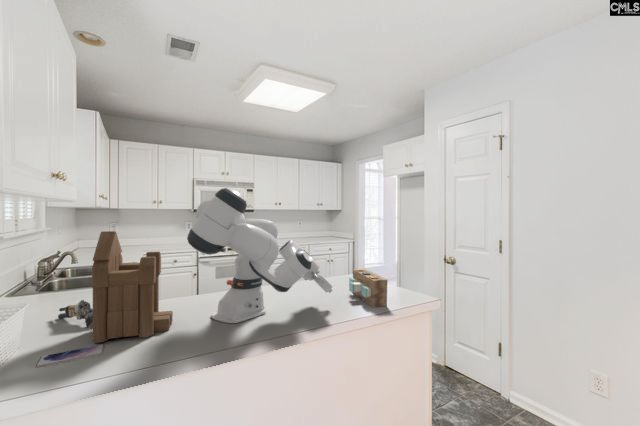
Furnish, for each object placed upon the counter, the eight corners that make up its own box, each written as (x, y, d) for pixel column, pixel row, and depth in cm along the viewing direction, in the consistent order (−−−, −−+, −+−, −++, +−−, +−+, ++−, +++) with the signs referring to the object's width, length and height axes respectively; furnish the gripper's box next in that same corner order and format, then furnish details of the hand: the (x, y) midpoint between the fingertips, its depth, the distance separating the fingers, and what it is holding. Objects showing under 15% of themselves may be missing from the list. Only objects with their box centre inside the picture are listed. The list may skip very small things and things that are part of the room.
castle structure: (168, 336, 102) (168, 233, 101) (90, 345, 95) (90, 234, 94) (176, 309, 128) (176, 226, 127) (115, 315, 120) (115, 227, 119)
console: (372, 307, 136) (373, 279, 135) (352, 291, 159) (353, 268, 158) (386, 306, 138) (387, 278, 137) (364, 291, 161) (365, 267, 160)
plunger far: (352, 288, 152) (352, 279, 152) (349, 285, 156) (349, 277, 156) (368, 287, 154) (368, 278, 154) (364, 284, 159) (365, 276, 158)
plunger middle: (352, 292, 144) (352, 284, 143) (349, 290, 148) (349, 281, 147) (369, 291, 146) (369, 283, 146) (365, 289, 150) (366, 281, 150)
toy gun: (91, 327, 106) (87, 299, 107) (58, 332, 114) (54, 306, 115) (101, 324, 109) (97, 296, 110) (68, 329, 117) (64, 303, 118)
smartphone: (40, 356, 87) (104, 343, 95) (40, 358, 87) (104, 346, 95) (34, 367, 81) (102, 353, 89) (34, 370, 81) (102, 356, 89)
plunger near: (365, 297, 137) (365, 288, 137) (361, 294, 141) (361, 285, 141) (383, 296, 139) (383, 287, 139) (378, 293, 143) (379, 284, 143)
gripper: (321, 270, 123) (343, 292, 126) (308, 260, 142) (328, 280, 145) (310, 281, 122) (332, 303, 125) (299, 270, 141) (319, 289, 144)
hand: (330, 290), depth 135 cm, fingers closed
